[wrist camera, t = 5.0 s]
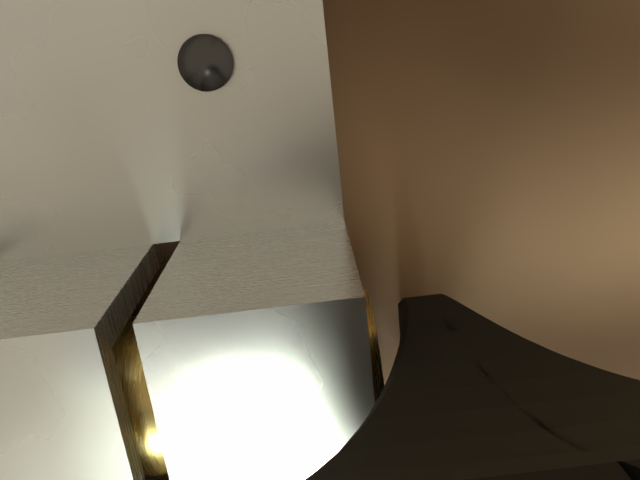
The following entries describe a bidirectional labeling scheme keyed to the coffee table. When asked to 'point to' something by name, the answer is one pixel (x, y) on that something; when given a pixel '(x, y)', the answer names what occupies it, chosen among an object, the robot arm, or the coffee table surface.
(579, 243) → the board
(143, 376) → the pin
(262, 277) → the hinge leaves
